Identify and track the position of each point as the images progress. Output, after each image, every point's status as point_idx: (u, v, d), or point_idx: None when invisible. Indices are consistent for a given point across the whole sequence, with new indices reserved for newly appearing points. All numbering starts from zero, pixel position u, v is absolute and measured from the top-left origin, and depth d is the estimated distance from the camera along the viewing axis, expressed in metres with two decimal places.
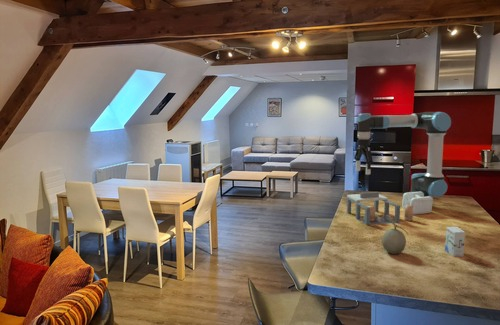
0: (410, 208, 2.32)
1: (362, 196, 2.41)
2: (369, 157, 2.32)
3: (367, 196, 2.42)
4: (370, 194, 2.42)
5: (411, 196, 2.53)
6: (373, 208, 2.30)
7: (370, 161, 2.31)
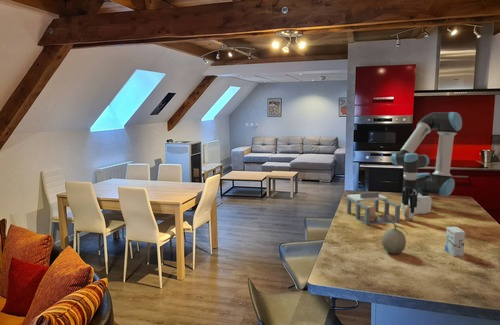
0: None
1: (362, 196, 2.41)
2: (414, 202, 2.28)
3: (367, 196, 2.42)
4: (370, 194, 2.42)
5: None
6: (373, 208, 2.30)
7: (414, 205, 2.29)
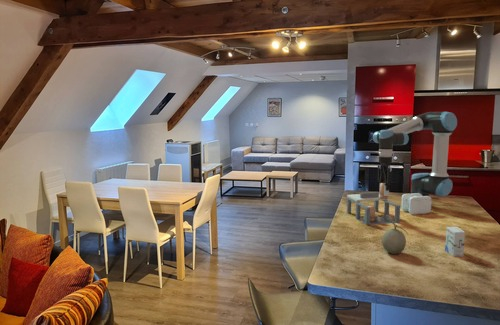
0: None
1: (362, 196, 2.41)
2: (389, 179, 2.25)
3: (367, 196, 2.42)
4: (370, 194, 2.42)
5: (410, 197, 2.54)
6: (373, 208, 2.30)
7: (389, 182, 2.26)
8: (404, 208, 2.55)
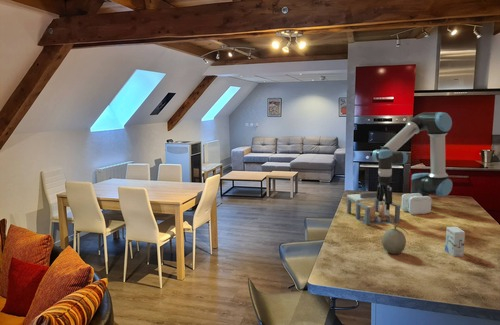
0: (384, 208, 2.32)
1: (362, 196, 2.41)
2: (389, 198, 2.26)
3: (367, 196, 2.42)
4: (370, 194, 2.42)
5: (410, 197, 2.54)
6: (373, 208, 2.30)
7: (389, 202, 2.26)
8: (404, 208, 2.55)
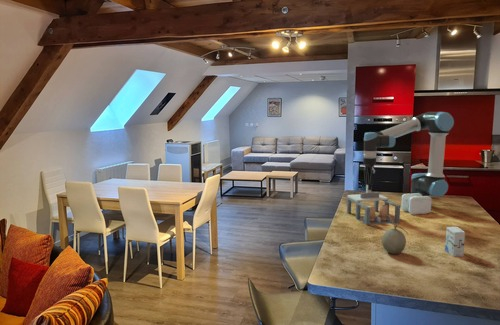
0: (384, 208, 2.32)
1: (362, 196, 2.41)
2: (371, 179, 2.38)
3: (367, 196, 2.41)
4: (370, 194, 2.41)
5: (410, 197, 2.54)
6: (373, 208, 2.30)
7: None
8: (404, 208, 2.55)
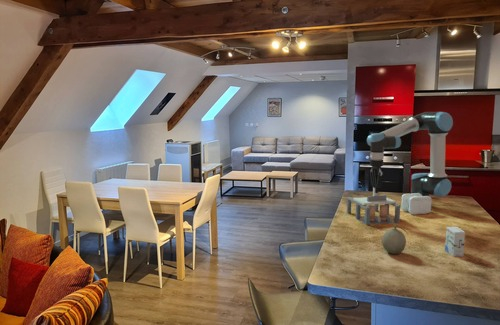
0: (384, 208, 2.32)
1: (369, 199, 2.32)
2: (378, 182, 2.29)
3: (374, 199, 2.33)
4: (377, 197, 2.33)
5: (410, 197, 2.54)
6: (373, 208, 2.30)
7: None
8: (404, 208, 2.55)
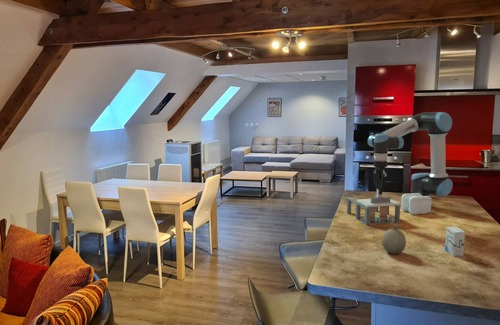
0: (384, 208, 2.32)
1: (373, 201, 2.28)
2: (382, 183, 2.25)
3: (378, 201, 2.29)
4: (381, 199, 2.29)
5: (410, 197, 2.54)
6: (373, 208, 2.30)
7: (382, 187, 2.26)
8: (404, 208, 2.55)
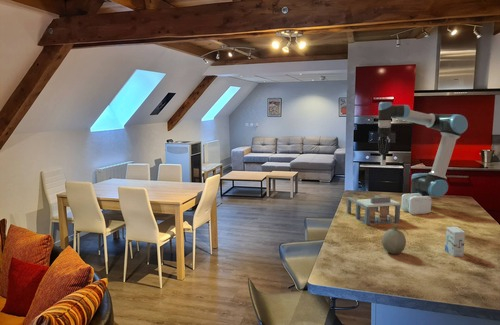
0: (384, 208, 2.32)
1: (373, 201, 2.28)
2: (386, 149, 2.37)
3: (378, 201, 2.28)
4: (381, 199, 2.29)
5: (410, 197, 2.54)
6: (373, 208, 2.30)
7: (386, 152, 2.39)
8: (404, 208, 2.55)
